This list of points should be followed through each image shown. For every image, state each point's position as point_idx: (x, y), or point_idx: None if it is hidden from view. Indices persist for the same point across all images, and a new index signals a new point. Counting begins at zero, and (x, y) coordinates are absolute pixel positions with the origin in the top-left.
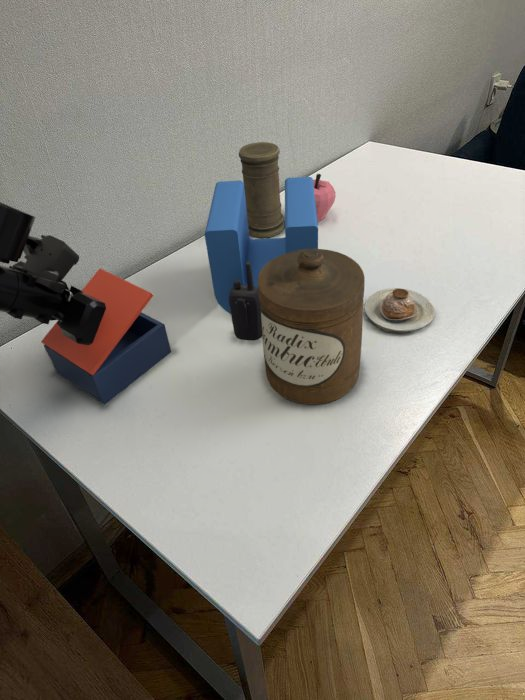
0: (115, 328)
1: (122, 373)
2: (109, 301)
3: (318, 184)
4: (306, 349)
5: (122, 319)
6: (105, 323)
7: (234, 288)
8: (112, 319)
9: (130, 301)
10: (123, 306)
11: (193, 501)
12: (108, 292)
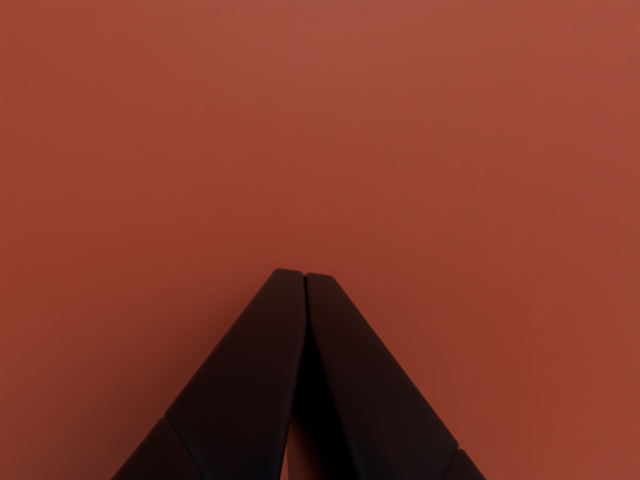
0: (591, 385)
1: None
2: (355, 138)
3: None
4: None
5: (620, 285)
6: (456, 373)
7: None
8: (506, 313)
9: (616, 75)
10: (559, 151)
11: None
12: (269, 30)
